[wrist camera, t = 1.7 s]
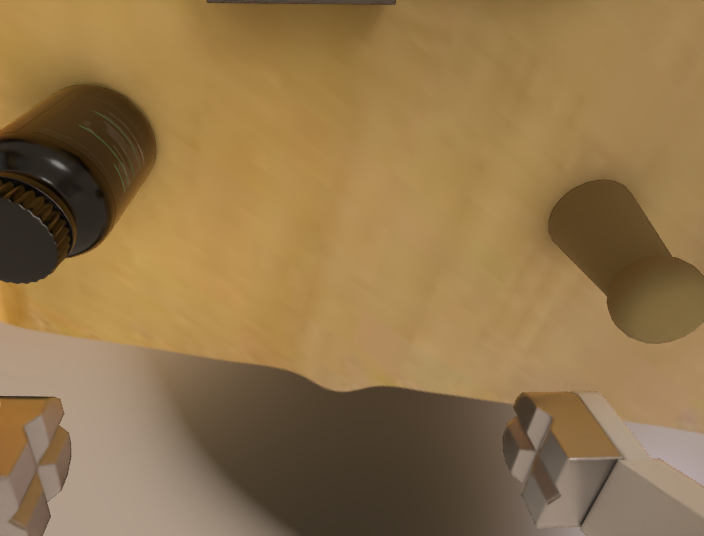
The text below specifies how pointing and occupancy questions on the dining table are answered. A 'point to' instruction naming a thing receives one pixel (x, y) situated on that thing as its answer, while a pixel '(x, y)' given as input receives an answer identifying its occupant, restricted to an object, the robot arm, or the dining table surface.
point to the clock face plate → (309, 1)
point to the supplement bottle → (68, 177)
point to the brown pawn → (628, 262)
